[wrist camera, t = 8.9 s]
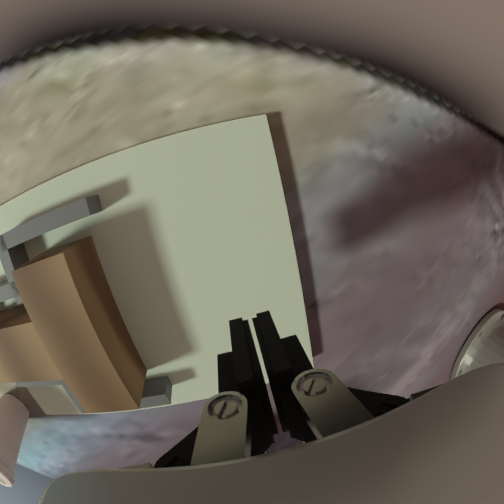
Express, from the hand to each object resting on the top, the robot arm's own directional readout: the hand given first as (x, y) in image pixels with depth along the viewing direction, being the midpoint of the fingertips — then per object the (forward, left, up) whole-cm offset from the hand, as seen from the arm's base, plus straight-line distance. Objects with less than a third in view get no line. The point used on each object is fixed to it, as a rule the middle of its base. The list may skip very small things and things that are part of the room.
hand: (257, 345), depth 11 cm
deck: (+9, -1, -8) cm, 11 cm away
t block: (+13, -1, -6) cm, 15 cm away
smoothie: (+27, +8, -8) cm, 29 cm away
